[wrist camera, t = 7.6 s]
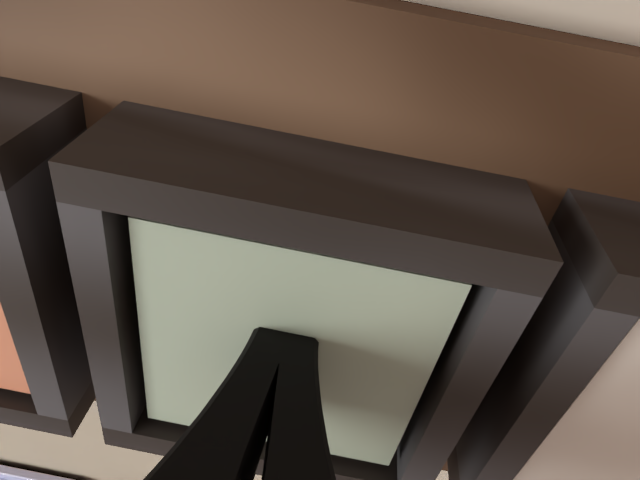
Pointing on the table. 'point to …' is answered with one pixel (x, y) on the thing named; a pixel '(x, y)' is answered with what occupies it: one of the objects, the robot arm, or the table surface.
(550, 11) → the table surface
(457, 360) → the key board
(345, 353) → the sage key
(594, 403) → the off-white key
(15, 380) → the terracotta key
